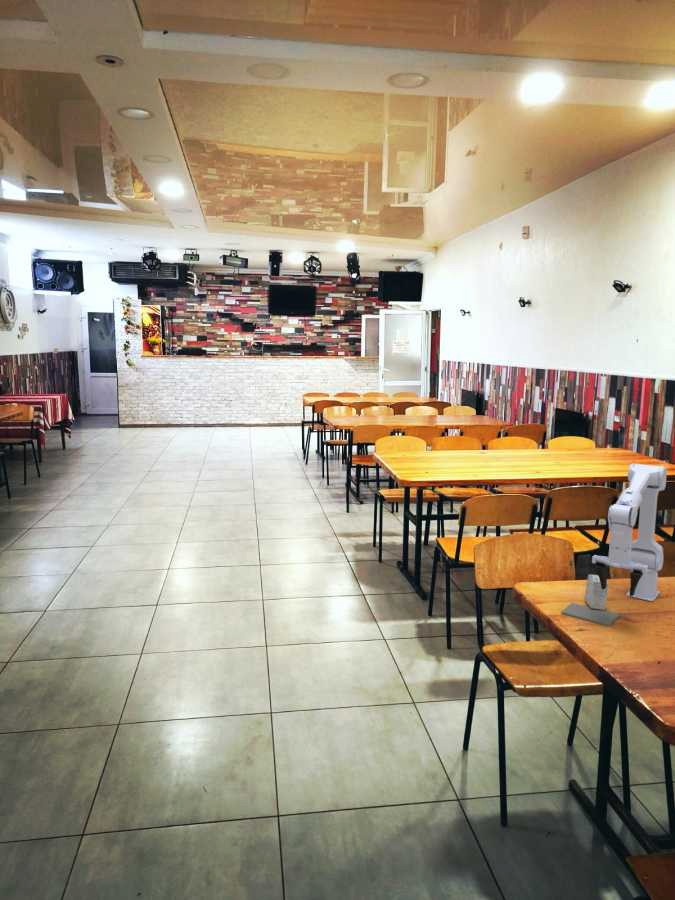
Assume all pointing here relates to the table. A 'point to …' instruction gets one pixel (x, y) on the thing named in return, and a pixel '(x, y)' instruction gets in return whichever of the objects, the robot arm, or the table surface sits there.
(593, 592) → the medicine box
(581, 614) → the mat
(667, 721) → the table surface
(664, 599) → the table surface
